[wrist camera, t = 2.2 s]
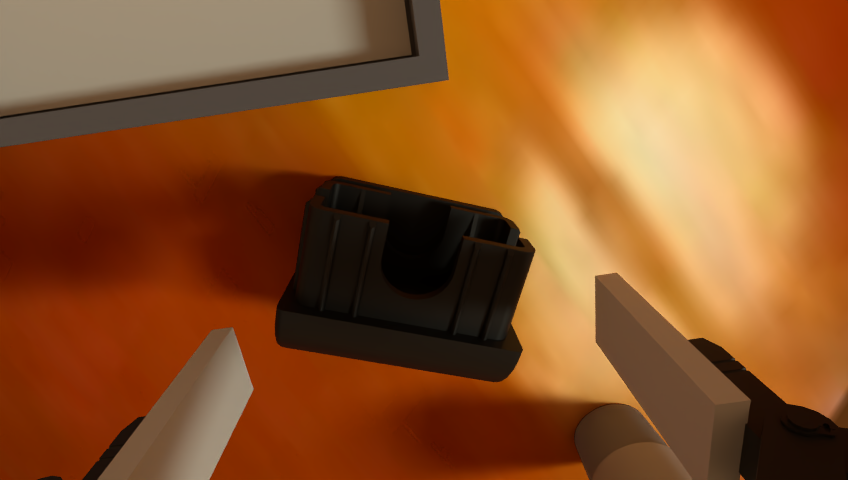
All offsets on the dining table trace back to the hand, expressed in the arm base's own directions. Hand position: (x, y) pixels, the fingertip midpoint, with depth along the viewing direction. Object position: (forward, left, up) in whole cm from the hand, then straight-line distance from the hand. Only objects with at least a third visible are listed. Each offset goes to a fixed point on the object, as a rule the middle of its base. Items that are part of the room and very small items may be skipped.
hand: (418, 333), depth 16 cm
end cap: (0, 0, -8) cm, 8 cm away
